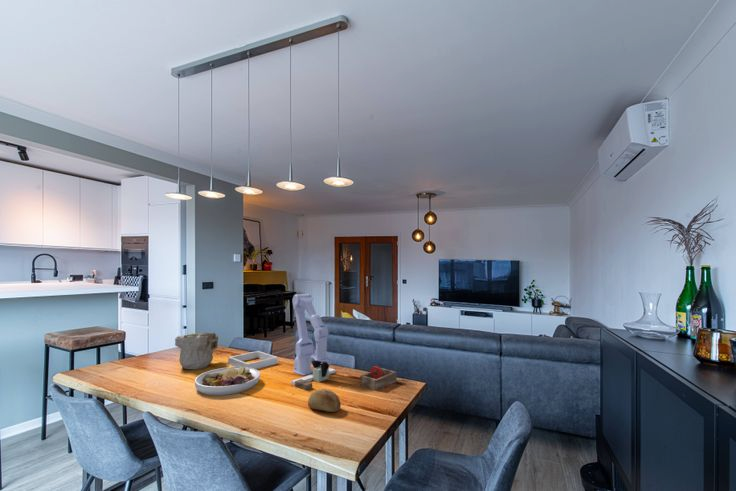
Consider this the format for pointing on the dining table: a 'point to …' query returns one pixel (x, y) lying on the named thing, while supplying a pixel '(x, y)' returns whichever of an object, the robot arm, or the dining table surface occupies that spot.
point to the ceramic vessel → (196, 349)
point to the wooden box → (379, 383)
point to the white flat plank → (310, 377)
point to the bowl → (227, 380)
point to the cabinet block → (319, 374)
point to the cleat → (303, 384)
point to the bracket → (378, 373)
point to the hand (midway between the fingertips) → (320, 375)
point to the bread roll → (324, 400)
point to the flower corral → (265, 357)
